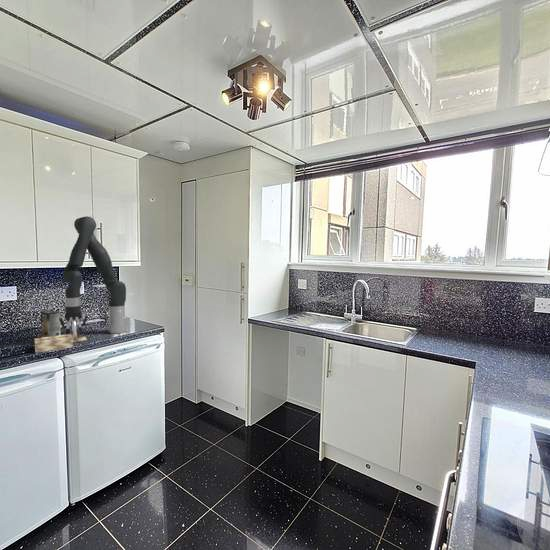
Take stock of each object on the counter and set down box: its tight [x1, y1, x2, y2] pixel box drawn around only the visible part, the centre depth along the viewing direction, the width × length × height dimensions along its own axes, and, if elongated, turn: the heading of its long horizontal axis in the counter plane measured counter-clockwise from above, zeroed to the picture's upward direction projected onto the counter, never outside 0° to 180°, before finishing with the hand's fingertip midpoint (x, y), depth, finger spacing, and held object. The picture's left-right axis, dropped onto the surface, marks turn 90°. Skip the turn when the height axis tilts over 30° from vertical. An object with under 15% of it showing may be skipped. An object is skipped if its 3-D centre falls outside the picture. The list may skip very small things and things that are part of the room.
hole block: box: [34, 333, 74, 354], centre depth 161 cm, size 16×10×5 cm, turn 130°
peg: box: [70, 320, 78, 340], centre depth 174 cm, size 3×3×12 cm
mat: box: [73, 336, 88, 343], centre depth 176 cm, size 8×7×1 cm
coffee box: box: [40, 309, 62, 338], centre depth 177 cm, size 9×6×16 cm
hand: (74, 334), depth 174 cm, fingers open, 4 cm apart
